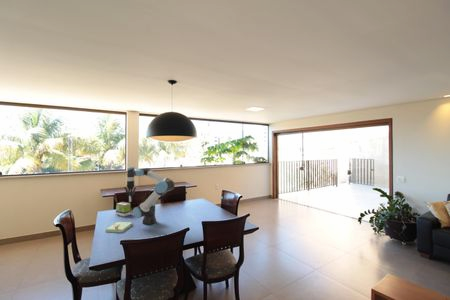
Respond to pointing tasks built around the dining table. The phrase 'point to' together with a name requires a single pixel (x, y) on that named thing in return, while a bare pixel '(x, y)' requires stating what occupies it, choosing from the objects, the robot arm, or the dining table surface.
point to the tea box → (123, 209)
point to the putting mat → (119, 227)
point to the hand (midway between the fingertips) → (130, 201)
